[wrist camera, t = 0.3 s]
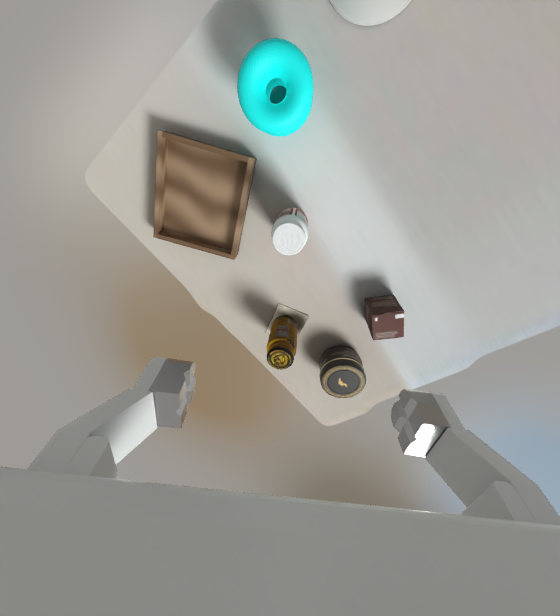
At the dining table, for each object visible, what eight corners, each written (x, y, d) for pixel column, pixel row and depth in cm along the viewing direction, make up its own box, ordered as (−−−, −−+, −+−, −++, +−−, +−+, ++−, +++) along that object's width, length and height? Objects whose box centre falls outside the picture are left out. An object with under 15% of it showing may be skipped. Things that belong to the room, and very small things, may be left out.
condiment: (265, 332, 66) (257, 365, 56) (278, 303, 62) (272, 333, 52) (294, 343, 67) (291, 378, 57) (309, 315, 63) (309, 347, 53)
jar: (347, 381, 71) (351, 404, 65) (312, 367, 70) (312, 389, 63) (369, 352, 67) (375, 375, 60) (331, 337, 65) (333, 358, 59)
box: (365, 321, 63) (372, 341, 56) (364, 297, 60) (371, 315, 53) (394, 318, 62) (404, 337, 55) (394, 293, 59) (404, 311, 52)
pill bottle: (272, 235, 55) (265, 253, 45) (280, 203, 52) (273, 214, 42) (303, 243, 55) (302, 263, 45) (312, 211, 52) (313, 225, 42)
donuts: (241, 24, 33) (323, 47, 34) (255, 50, 42) (320, 68, 42) (230, 122, 38) (301, 141, 39) (244, 128, 47) (302, 143, 47)
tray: (165, 131, 48) (157, 130, 46) (256, 158, 49) (253, 158, 46) (160, 233, 57) (153, 237, 54) (237, 254, 58) (234, 259, 55)
